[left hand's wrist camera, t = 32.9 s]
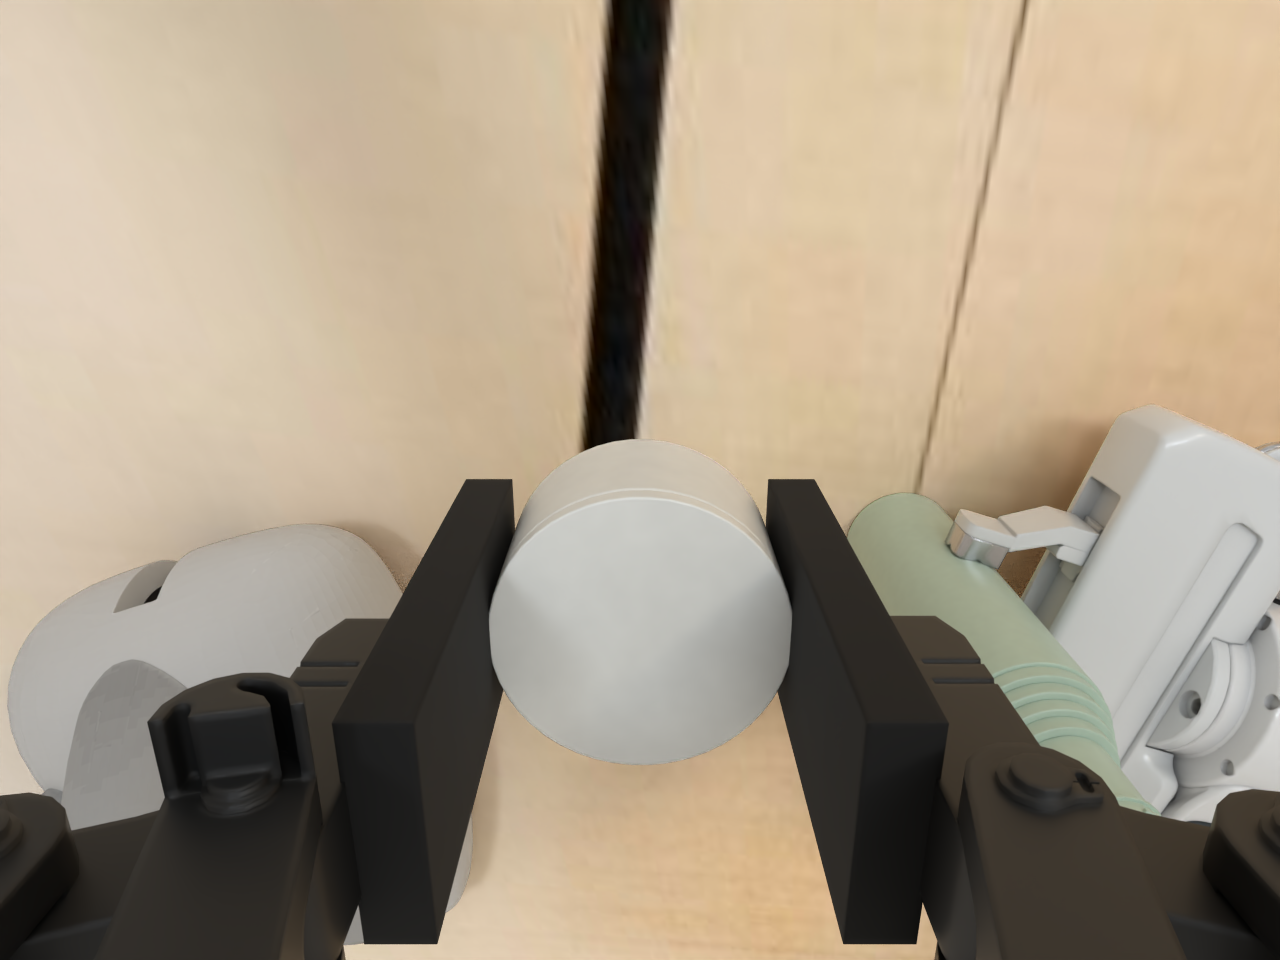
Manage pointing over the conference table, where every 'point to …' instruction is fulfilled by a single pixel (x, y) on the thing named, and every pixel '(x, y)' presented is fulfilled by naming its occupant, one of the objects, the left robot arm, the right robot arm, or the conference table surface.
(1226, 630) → the right robot arm
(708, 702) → the cap
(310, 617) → the projector
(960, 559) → the bottle
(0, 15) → the conference table surface
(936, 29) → the conference table surface
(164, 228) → the conference table surface
